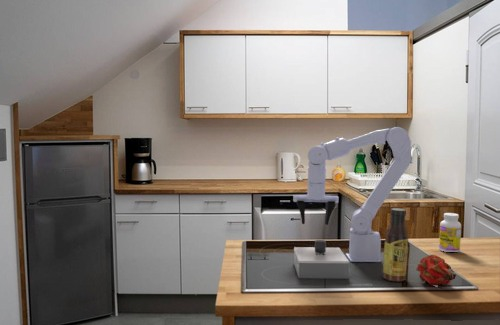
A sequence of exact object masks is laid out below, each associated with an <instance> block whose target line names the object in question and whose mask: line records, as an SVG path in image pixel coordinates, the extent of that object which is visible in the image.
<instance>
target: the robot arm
mask: <svg viewBox="0 0 500 325" xmlns="http://www.w3.org/2000/svg"><path fill="white" fill-rule="evenodd" d="M386 141H387V144H388V146H389V147H390V149H391V150H392V156H393V161H392V162H391V164H390V165H389V167H388V168H387V170H386V171H385V172H384V174H383V175H382V177H381V178H380V180H379V181H378V183H377V184H376V186H375V187H374V189H373V190H372V191H371V193H370V195H369V196H368V198H367V199H366V200H365V201H364V202H363V204H362V205H361V206H360V208H357V209H356V210H355V211H354V212H353V213H352V218H351V220H350V226H351V227H350V229H349V244H348V245H349V246H348V247H349V253H345V256H346V258H347V259H348V261H349V262H352V263H357V262H358V263H366V262H367V263H381V249H382V246H381V245H382V239H381V235H380V232H378V231H374V230H373V229H372V224H373V220H374V218H375V217H376V215H377V213H378V211H379V210H380V209H381V207H382V205H383V203H384V202H385V200H387V198H388V197H389V195H390V193H391V192H392V191H393V189H394V187H395V186H396V185H397V183H398V182H399V181H400V179H401V178H402V176H403V175H404V173H405V172H406V170H407V169H408V168H409V166H410V165H411V162H412V150H411V149H412V140H411V139H410V136H409V132H408V131H407V130H406V129H404V128H403V127H400V126H395V127H392V128H384V129H378V130H374V131H371V132H368V133H366V134H362V135H360V136H357V137H354V138H351V139H346V138H344V137H341V138H340V137H339V136H337V137H335V138H334V139H333V140H331V141H328V142H321V143H320V145H315V146H312V147H311V148H310V149H309V150H308V152H307V158H308V168H307V193H306V194H293V197H292V198H293V199H292V201H293V202H294V203H296V205H297V207H298V210H299V211H298V212H299V214H300V218H301V224H302V225H306V224H305V223H306V222H305V221H306V219H305V218H306V216H305V214H306V213H305V212H306V203H305V202H307V203H325V217H324V224H325V225H326V226H328V225H329V221H330V217H331V216H332V213H333V212H334V210H335V207H336V204H339V198H340V197H339V196H338V195H326V177H327V175H326V174H327V169H326V161H333V160H335V159H339V158H343V157H346V156H348V155H349V154H350V152H351V150H354V149H357V148H361V147H364V146H369V145H372V144H376V143H377V144H382V145H386Z"/></svg>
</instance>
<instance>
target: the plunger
mask: <svg viewBox="0 0 500 325" xmlns="http://www.w3.org/2000/svg"><path fill="white" fill-rule="evenodd" d="M314 247H315V252H317V253H318V255H322V253H325V252H326V248H327V241H326V240H321V239H317V240H314Z"/></svg>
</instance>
